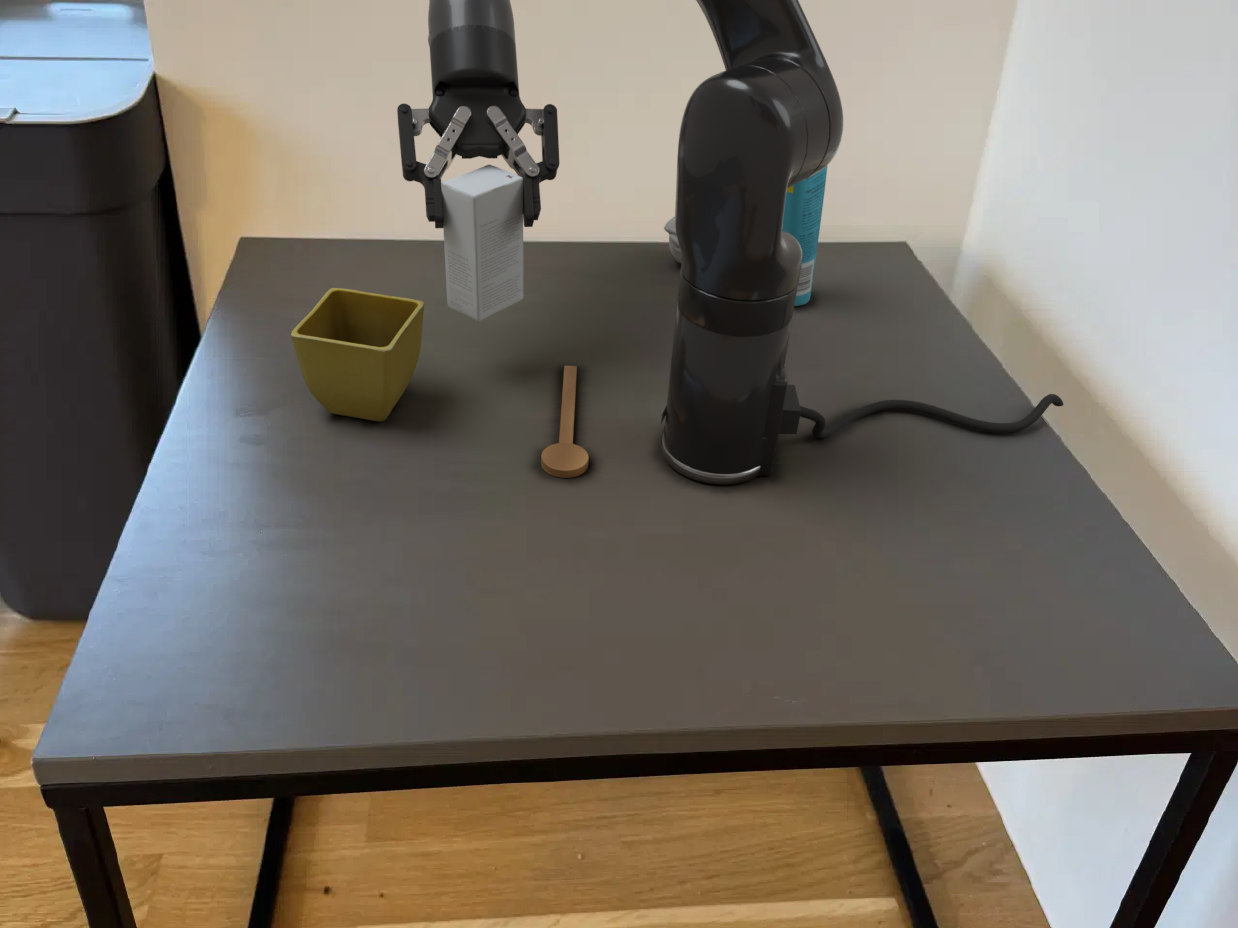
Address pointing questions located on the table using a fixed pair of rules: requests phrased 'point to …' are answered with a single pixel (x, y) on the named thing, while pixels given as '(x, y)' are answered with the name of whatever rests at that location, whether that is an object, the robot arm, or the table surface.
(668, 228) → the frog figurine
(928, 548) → the table surface
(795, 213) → the tube
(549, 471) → the wooden spoon
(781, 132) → the robot arm
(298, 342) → the flower pot
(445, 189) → the cosmetic box
